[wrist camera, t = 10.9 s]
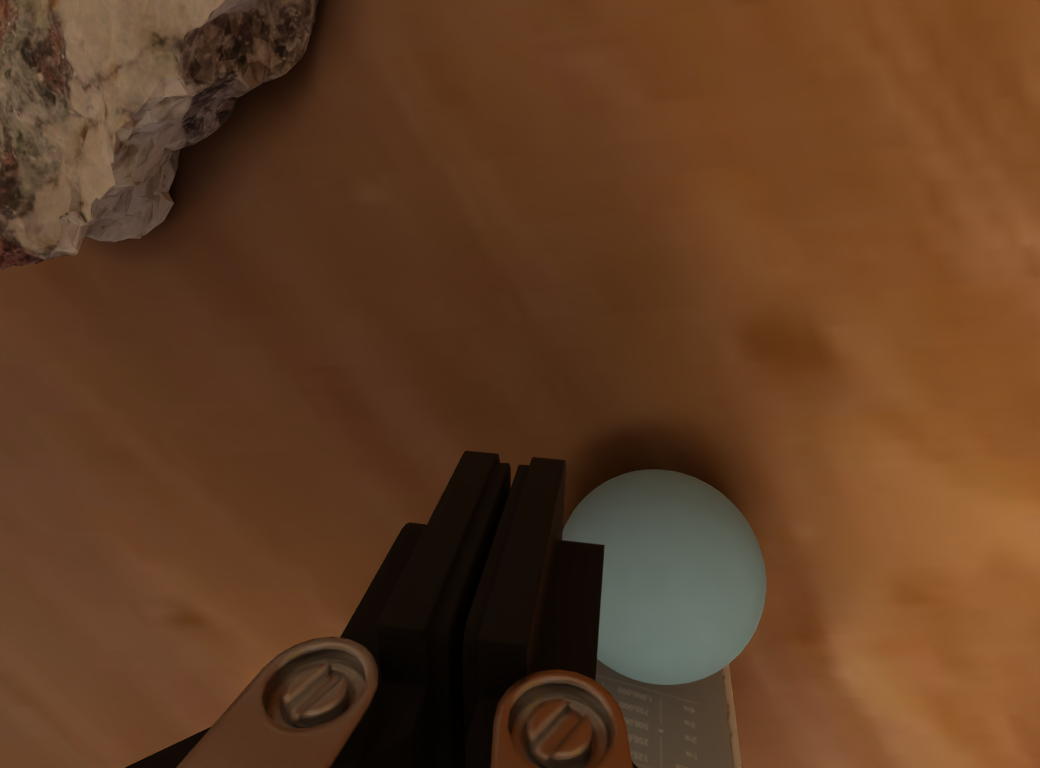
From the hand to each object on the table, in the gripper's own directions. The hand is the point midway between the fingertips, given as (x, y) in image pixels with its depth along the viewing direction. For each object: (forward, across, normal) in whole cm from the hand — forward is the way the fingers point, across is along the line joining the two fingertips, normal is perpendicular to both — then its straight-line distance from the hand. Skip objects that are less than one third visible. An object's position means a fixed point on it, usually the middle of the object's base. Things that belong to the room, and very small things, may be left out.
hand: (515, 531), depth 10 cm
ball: (+5, -3, +5) cm, 8 cm away
